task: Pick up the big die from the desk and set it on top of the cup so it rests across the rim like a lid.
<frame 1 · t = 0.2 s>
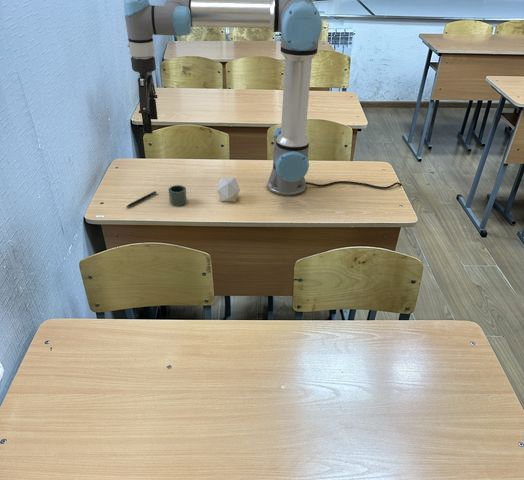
hand: (151, 126, 174), 28 cm above the table, tool pointing down, fingers open, 13 cm apart
pen: (141, 201, 193), on the table
cup: (178, 202, 192), on the table
die: (228, 200, 195), on the table
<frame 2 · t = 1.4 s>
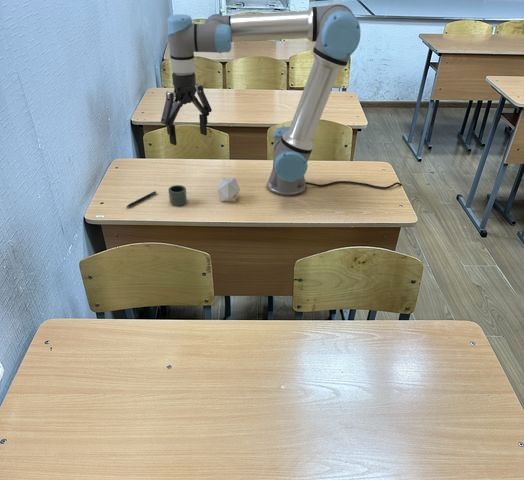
hand: (188, 139, 178), 23 cm above the table, tool pointing down, fingers open, 13 cm apart
nothing on the table moved.
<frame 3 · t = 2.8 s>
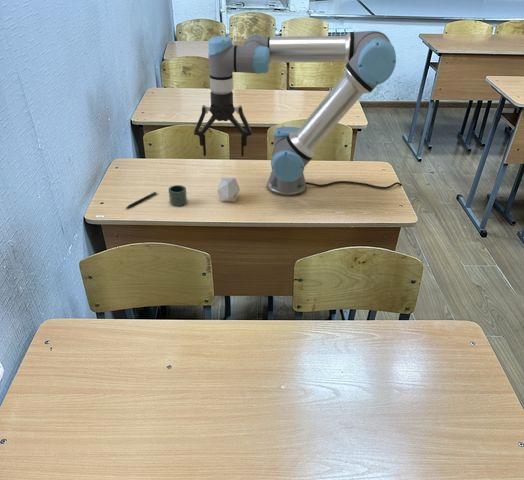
hand: (223, 154, 183), 17 cm above the table, tool pointing down, fingers open, 13 cm apart
nothing on the table moved.
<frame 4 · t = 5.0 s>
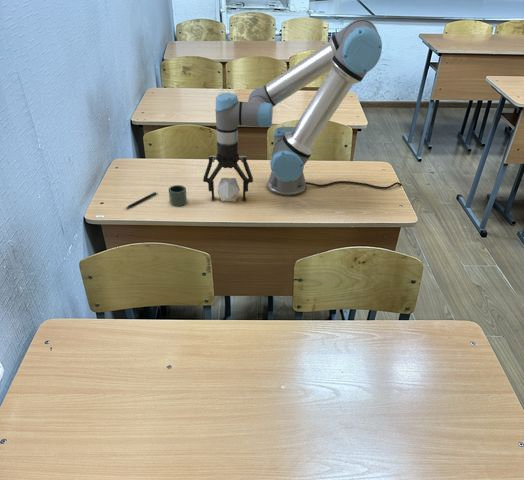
hand: (228, 199, 195), 0 cm above the table, tool pointing down, fingers open, 11 cm apart
nothing on the table moved.
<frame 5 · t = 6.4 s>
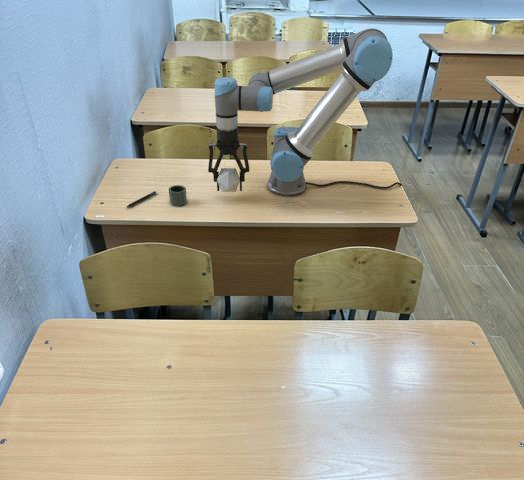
hand: (229, 189, 192), 4 cm above the table, tool pointing down, fingers closed on die, 8 cm apart
die: (229, 190, 193), point 4 cm above the table, touching gripper
everything else where it was.
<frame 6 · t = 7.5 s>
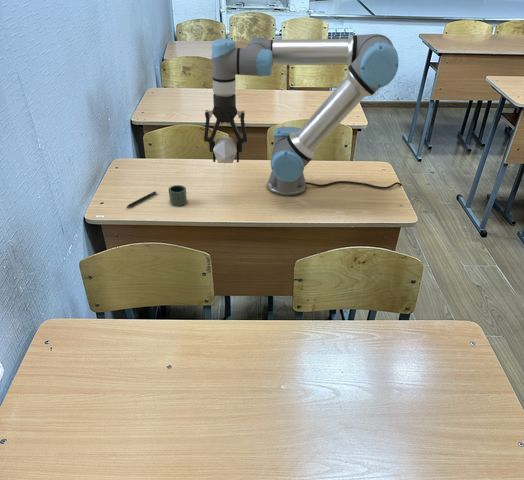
hand: (226, 160, 185), 15 cm above the table, tool pointing down, fingers closed on die, 8 cm apart
die: (225, 161, 185), point 15 cm above the table, touching gripper
everything else where it was.
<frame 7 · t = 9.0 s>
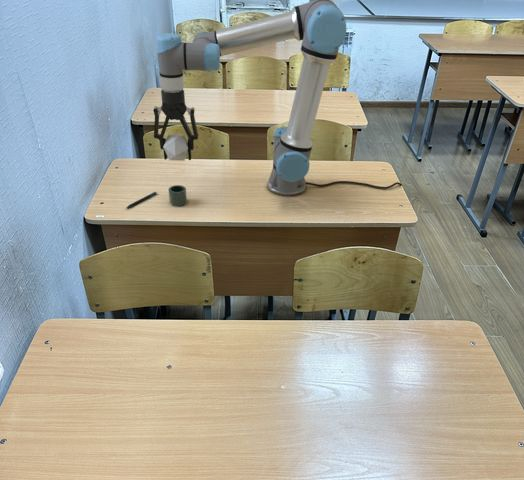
hand: (178, 158, 181), 17 cm above the table, tool pointing down, fingers closed on die, 8 cm apart
die: (177, 159, 181), point 17 cm above the table, touching gripper
everything else where it was.
when the fingers open (6 cm above the table, at t = 11.4 s): die stays where it is, resting on cup.
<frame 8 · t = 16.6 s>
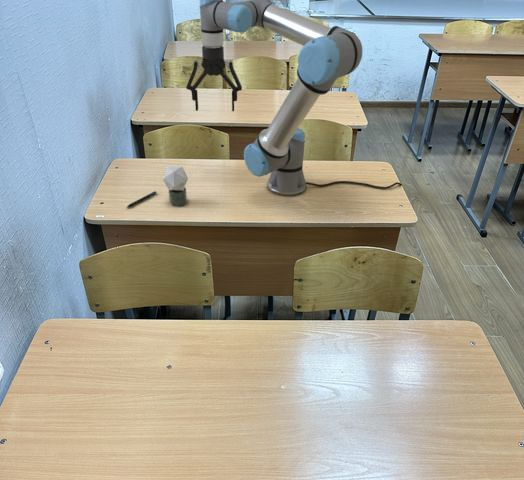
hand: (215, 110, 191), 27 cm above the table, tool pointing down, fingers open, 13 cm apart
die: (176, 189, 189), point 5 cm above the table, touching cup
everything else where it was.
at the end: die 0.3 cm off-centre on the cup, point 5.3 cm above the cup's base; die touching cup; die tilted 0° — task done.
